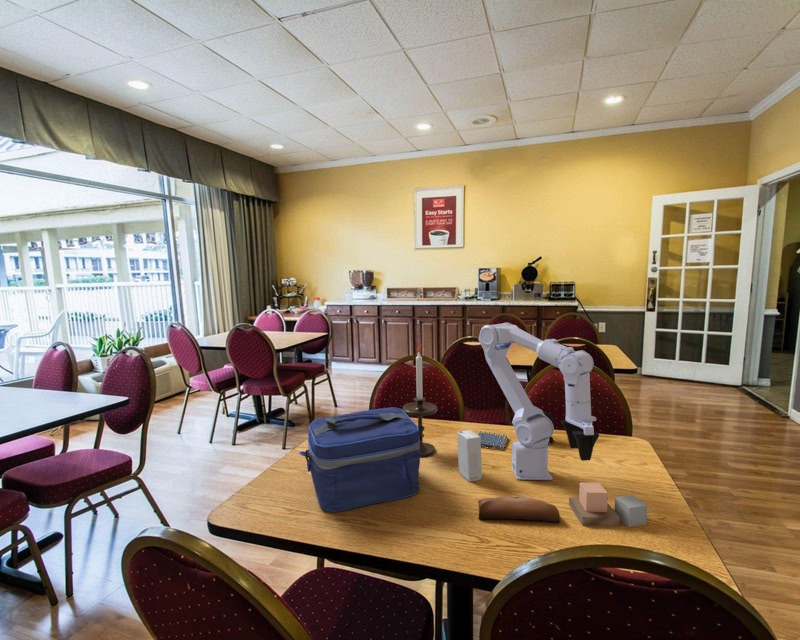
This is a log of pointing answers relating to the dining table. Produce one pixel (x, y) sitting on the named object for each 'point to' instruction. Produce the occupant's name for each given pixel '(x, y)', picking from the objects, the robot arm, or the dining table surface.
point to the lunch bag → (363, 458)
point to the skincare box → (469, 455)
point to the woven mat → (492, 440)
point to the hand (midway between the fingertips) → (580, 453)
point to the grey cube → (631, 510)
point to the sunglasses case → (517, 509)
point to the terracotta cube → (593, 497)
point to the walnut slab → (593, 515)
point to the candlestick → (421, 408)
